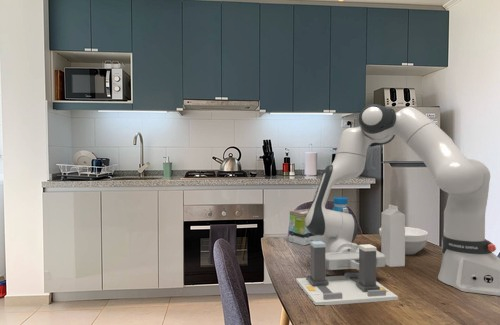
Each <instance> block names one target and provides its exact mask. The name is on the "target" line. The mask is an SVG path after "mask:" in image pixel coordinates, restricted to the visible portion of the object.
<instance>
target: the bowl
mask: <svg viewBox="0 0 500 325" xmlns="http://www.w3.org/2000/svg"><path fill="white" fill-rule="evenodd" d="M378 232H379V237H380V239H381V227H380V228H378ZM428 237H429V233H428V231H427V230H424V229H421V228H417V227H411V226H410V227H409V226H405V256H407V255H408V256H409V255H416V254H417V253H418V252H420V251H421V250H423V248H424V247H425V246H426V245H427V240H428Z"/></svg>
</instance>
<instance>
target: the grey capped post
mask: <svg viewBox="0 0 500 325" xmlns="http://www.w3.org/2000/svg"><path fill="white" fill-rule="evenodd" d="M309 245H310V275H311V277H307V280H308V281H309V282H310V283H311V284H312V285H313V286H315V285H329V282H328V281H327V280H326V279H325V277H326V268H325V247H326V244H325V243H324V242H322V241H310V244H309Z"/></svg>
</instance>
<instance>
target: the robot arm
mask: <svg viewBox="0 0 500 325" xmlns="http://www.w3.org/2000/svg"><path fill="white" fill-rule="evenodd" d="M358 125H359V126H357V127H348V128H345V129H344V130H343V131H342V132H341V134H340V137H339V140H338V144H337V147H336V152H335V157H334V160H333V162H332V163H331V164H329V165H326V166H325V169H324V170H323V172H322V174H321V176H320V179H319V182H318V185H317V187H316V191H315V193H314V196H313V199H312V201H311V205H310V206H309V208H308V209H309V211H308V213H307V215H306V219H305V226H306V228H307V229H308V231H309V232H310V233H311V234H312V235H321V238H320V240H319V241H322V242H324V243H325V244H326V247H325V270H329V271H335V270H336V271H337V270H358V271H359V245H366V243H365V244H364V243H355V242H354V241H355V240H356V237H357V233H358V224H357V221H356V219H355V217H354V216H353V214H351V213H350V212H349V213H344V212H340V211H334V210H332V209H330V208H329V209H328V208H326V204H327V201H328V198H329V196H330V193H331V189H332V187H333V186H334V185H335V184H337V183H339V182H343V181H345V182H346V181H348V180H353V179H357V178H358V177H360V176H361V175H362V173H363V172H364V170H365V165H366V161H367V154H368V149H369V147H375V146H382V145H383V146H384V145H387V144H389V143H391V142H392V141H393V140H394V138H395V137H398V138H400V139H401V140H402V141H403V142H404V143H405V144H406V145H407V147H409V148H410V149H411V151H413V153H415V154H416V155H417V157H419V159H420V160H421V161H422V162H423V163H424V165H425V166H426V168H427V169H428V170H429V173H431V175H432V176H433V178H434V179H435V182H436V184H437V186H438V187H439V189H440V190H442V191H443V192H445V193H447V194H448V196H447V201H446V205H445V208H444V209H443V210H444V211H443V234H442V235H441V236H442V237H441V252H442V258H441V265H440V270H439V273H438V275H437V279H438V280H439V281H440V282H442V283H444V284H446V285H448V286H452V287H453V288H455V289H457V290H459V291H462V292H465V293H474V294H481V295H483V294H484V295H492V296H498V297H500V257H499V256H498V255H496V254H495V253H494V252H495V251H496V250H497V246H496V245H495V244H493V243H492V242H491V241H490V240H488V239H486V211H487V206H488V200H489V199H488V197H489V190H490V180H491V172H490V169H489V168H488V167H487V165H486V164H484V162H481V161H479V160H476V159H470V158H467V157H466V156H465V155H464V154H463V152H461V150H460V149H459V148H458V146H457V145H456V144H455V143H454V140H453V139H452V138H451V137H450V136H449V135H448V134H447V133H446V132H445V131H444V130H443V129H441V128H440V127H439V125H437V123H435V122H434V121H433V120H432V119H430V118H429V117H428V116H427V115H425V114H424V113H423V112H421V111H420V110H418V109H416V108H414V107H412V106H407V107H404V108H401V109H400V110H399V111H397V112H396V110H395V109H394V108H391V107H387V106H383V105H382V104H376V103H371V104H368V105H366V106H365V107H363V108H362V109H361V111H360V112H359V115H358ZM322 235H323V236H322ZM385 266H386V258H385V255H384V254H382V253H381V251H379V250H378V249H376V268H384V267H385Z"/></svg>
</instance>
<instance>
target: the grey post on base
mask: <svg viewBox="0 0 500 325" xmlns="http://www.w3.org/2000/svg"><path fill="white" fill-rule="evenodd" d="M376 250H377V247H376V246H374V245H372V244H371V243H370V244H369V243H368V244H365V245H359V270H358V272H359V282H356V285H357V286H358V287H359V288H361V289H362V290H363V291H367V290H380V287H379V286H377V285H376V282H377V267H376Z"/></svg>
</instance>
